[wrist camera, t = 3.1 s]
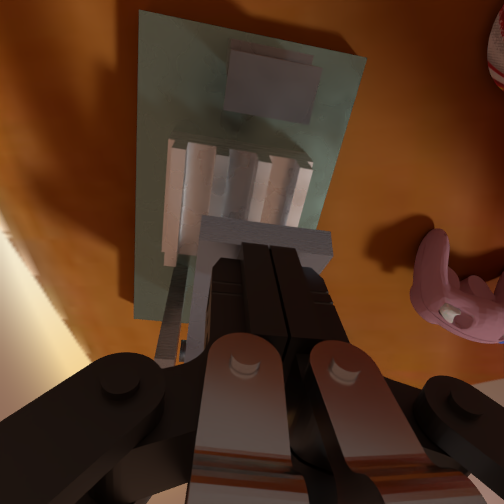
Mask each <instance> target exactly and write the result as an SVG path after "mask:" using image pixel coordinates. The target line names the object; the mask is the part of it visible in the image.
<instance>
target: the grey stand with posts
mask: <svg viewBox="0 0 504 504" xmlns="http://www.w3.org/2000/svg"><path fill="white" fill-rule="evenodd" d="M366 61H367V58H366V57H361V56H356V55H352V54H347V53H342V52H337V51H333V50H328V49H323V48H318V47H314V46H309V45H304V44H300V43H295V42H290V41H285V40H281V39H276V38H271V37H266V36H262V35H257V34H252V33H247V32H243V31H238V30H233V29H229V28H224V27H219V26H214V25H210V24H205V23H200V22H195V21H191V20H186V19H181V18H177V17H172V16H167V15H162V14H158V13H153V12H148V11H143V10H139V38H138V96H137V154H136V212H135V271H134V319H144V320H155V321H162V325H161V330H160V335H159V339H158V344H157V349H156V353H155V358H154V361H155V362H156V363H157V364H158V365H159V366H160V367H161V369H162V368H167V367H172V366H175V363H176V356H177V349H178V343H179V336H180V329H181V323H189V318H190V310H191V302H192V293H193V285H194V277H195V268H196V260H197V251H198V243H199V235H200V226H201V218H202V215H208V216H215V217H223V218H230V219H238V220H246V221H253V222H261V223H268V224H276V225H283V226H291V227H299V228H306V229H314V230H316V227H317V224H318V221H319V217H320V214H321V211H322V207H323V204H324V201H325V197H326V194H327V191H328V187H329V184H330V181H331V177H332V174H333V171H334V167H335V164H336V161H337V157H338V154H339V151H340V147H341V144H342V141H343V137H344V134H345V131H346V127H347V124H348V121H349V117H350V114H351V111H352V107H353V104H354V101H355V97H356V94H357V91H358V87H359V84H360V81H361V77H362V74H363V71H364V67H365V64H366Z"/></svg>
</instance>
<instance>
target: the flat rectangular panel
mask: <svg viewBox="0 0 504 504" xmlns="http://www.w3.org/2000/svg"><path fill="white" fill-rule="evenodd" d="M242 242H247V243H255V244H264V245H268V248H269V249H270V245H273V246H281V247H289V248H295V249H296V251H297V254H298V257H299V260H300V263H301V266H302V267H311V268H312V269H313V270H314V271H315V272H316V273H317V274H318V275H319V274H320V273H321V272H322V270H323V269H324V268H325V266H326V265H327V264H328V262H329V261H330V260H331V258H332V257H333V249H332V241H331V232H329V231H321V230H314V229H306V228H299V227H291V226H283V225H276V224H268V223H261V222H253V221H246V220H238V219H230V218H223V217H215V216H208V215H202V218H201V226H200V235H199V243H198V251H197V260H196V268H195V277H194V285H193V293H192V302H191V310H190V318H189V327H188V335H187V340H181V348H180V356H179V362H184V363H187V362H189V361H191V360H193V359H195V358H196V357H197V356H199V355H200V354H201V353H202V352H203V351H204V338H205V337H204V336H205V319H206V308H207V301H208V294H209V287H210V280H211V274H212V267H213V266H214V265H215V264H216V262H217V261H218V260H219V259H220V258H221V257H222V258H230V259H237V258H238V255H239V251H240V248H241V245H242Z"/></svg>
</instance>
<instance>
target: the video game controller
mask: <svg viewBox="0 0 504 504" xmlns="http://www.w3.org/2000/svg"><path fill="white" fill-rule="evenodd" d="M448 258H449V240H448V236H447V234H446V233H445V231H444V230H442V229H433V230H431V231H430V232H428V233H427V235H426V236H425V237H424V239H423V240H422V242H421V244H420V246H419V248H418V251H417V254H416V259H415V264H414V275H413V286H412V287H411V289H410V299H411V303H412V305H413V307H414V309H415V310H416V311H417V313H418V314H419V315H420V316H421V317H422V318H423V319H425V320H426V321H428V322H430V323H433V324H439V325H440V326H442V327H443V328H445V329H446V330H448V331H450V332H452V333H454V334H456V335H458V336H460V337H463V338H465V339H468V340H471V341H476V342H480V343H504V271H503V272H502V274H501V276H500V278H499V280H498V283H497V286H496V289H495V291H494V294H493V293H492V292H491V290H490V289H489V287H488V285H487V284H486V283H485V281H484V280H483V279H481V278H480V277H478V276H475V275H472V276H469V277H468V278H465V279H464V280H462V281H460V282H459V278H458V276H457V274H456V273H455V272H454V271H453V270H452V269H451V268H450V267H448Z"/></svg>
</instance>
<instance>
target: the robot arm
mask: <svg viewBox="0 0 504 504" xmlns="http://www.w3.org/2000/svg"><path fill="white" fill-rule="evenodd" d="M204 337H205V338H204V351H203V352H202V353H201V354H200V355H199V356H197V357H196V358H195V359H193V360H191V361H189V362H187V363H184V364H181V365H177V366H172V367H167V368H162V369H161V367H160V366H159V365H158V364H157V363H156V362H155V361H154V360H152V359H151V358H149V357H147V356H144V355H141V354H137V353H130V352H123V353H115V354H111V355H107V356H105V357H102V358H100V359H98V360H96V361H94V362H93V363H91V364H89V365H88V366H86V367H85V368H83V369H82V370H80V371H79V372H77V373H76V374H74V375H72V376H71V377H69V378H68V379H66V380H65V381H63V382H61V383H60V384H58V385H57V386H55V387H54V388H52V389H51V390H49V391H47V392H46V393H44V394H43V395H41V396H40V397H38V398H37V399H35V400H34V401H32V402H30V403H29V404H27V405H26V406H24V407H23V408H21V409H20V410H18V411H17V412H15V413H13V414H12V415H10V416H9V417H7V418H5V419H4V420H2V421H1V422H0V504H146V503H147V502H148V501H149V499H150V498H151V496H152V495H154V494H157V493H160V492H162V491H165V490H168V489H171V488H173V487H176V486H179V485H182V484H185V483H188V484H187V491H186V498H185V504H487V503H486V501H485V499H484V498H483V497H482V495H481V493H480V492H479V491H478V489H477V487H476V486H475V485H474V484H473V483H472V481H471V480H470V479H469V478H468V476H469V475H470V474H471V473H472V474H473V475H474V476H475V477H476V478H478V479H479V480H480V481H481V482H483V483H484V484H485V485H486V486H487V487H489V488H490V489H491V490H492V491H494V492H495V493H496V494H497V495H498V496H500V497H501V498H502V499H503V500H504V407H502V406H501V405H500V404H498V403H497V402H495V401H494V400H492V399H491V398H489V397H488V396H486V395H485V394H483V393H482V392H480V391H479V390H477V389H476V388H474V387H473V386H471V385H470V384H468V383H466V382H464V381H462V380H459V379H457V378H453V377H450V376H434V377H432V378H430V379H429V380H428V381H427V382H426V384H425V385H424V387H423V389H422V390H421V389H418V388H415V387H412V386H409V385H406V384H403V383H400V382H397V381H394V380H391V379H389V378H386V377H384V376H382V374H381V372H380V370H379V368H378V367H377V365H376V364H375V362H374V361H373V360H372V359H371V357H370V356H368V355H367V354H366V353H365V352H364V351H362V350H361V349H359V348H358V347H356V346H354V345H352V344H350V342H349V340H348V338H347V335H346V333H345V330H344V328H343V326H342V323H341V321H340V318H339V316H338V314H337V311H336V309H335V306H333V302H332V299H331V297H330V295H328V290H327V287H326V285H325V282H324V280H323V279H322V278H321V277H320V276H319V275H318V274H317V273H316V272H315V271H314V270H313V269H312V268H311V267H302V266H301V263H300V260H299V257H298V254H297V251H296V249H295V248H289V247H281V246H273V245H270V249H269V248H268V245H264V244H255V243H247V242H242V245H241V248H240V251H239V255H238V258H237V259H230V258H222V257H221V258H220V259H219V260H218V261H217V262H216V264H215V265H214V266H213V267H212V274H211V280H210V287H209V294H208V301H207V308H206V319H205V336H204Z"/></svg>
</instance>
